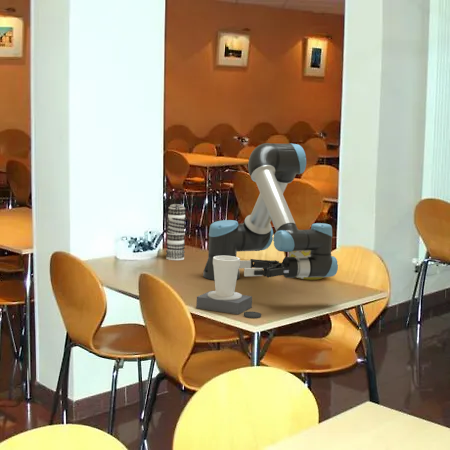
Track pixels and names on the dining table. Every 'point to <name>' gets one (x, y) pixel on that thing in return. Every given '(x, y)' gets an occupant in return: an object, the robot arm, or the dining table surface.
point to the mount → (224, 302)
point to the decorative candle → (176, 232)
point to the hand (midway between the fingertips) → (238, 268)
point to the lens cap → (252, 314)
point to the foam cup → (225, 274)
